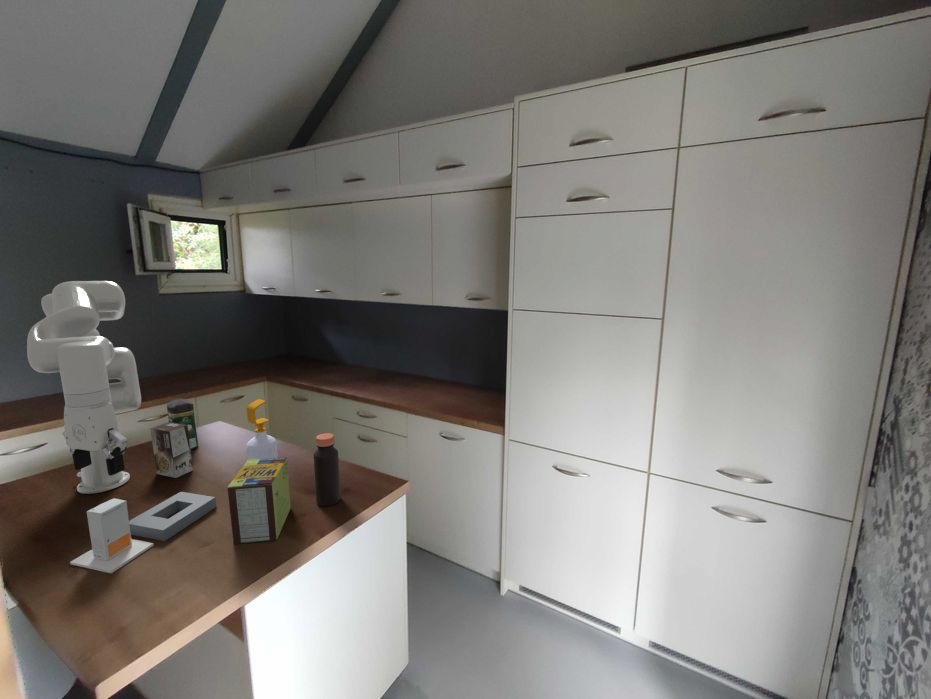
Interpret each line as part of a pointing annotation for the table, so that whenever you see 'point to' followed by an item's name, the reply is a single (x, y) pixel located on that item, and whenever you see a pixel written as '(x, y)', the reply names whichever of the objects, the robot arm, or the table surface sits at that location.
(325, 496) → the vinegar
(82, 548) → the table surface
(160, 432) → the coffee box
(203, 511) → the slotted board
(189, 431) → the coffee jar
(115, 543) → the skincare box
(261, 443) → the soap bottle
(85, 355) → the robot arm
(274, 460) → the protein box
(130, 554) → the white flat plate
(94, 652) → the table surface
